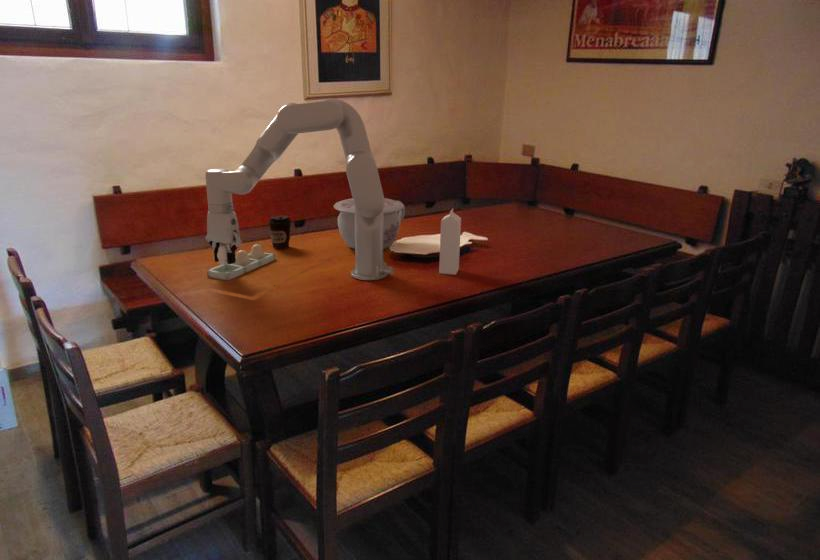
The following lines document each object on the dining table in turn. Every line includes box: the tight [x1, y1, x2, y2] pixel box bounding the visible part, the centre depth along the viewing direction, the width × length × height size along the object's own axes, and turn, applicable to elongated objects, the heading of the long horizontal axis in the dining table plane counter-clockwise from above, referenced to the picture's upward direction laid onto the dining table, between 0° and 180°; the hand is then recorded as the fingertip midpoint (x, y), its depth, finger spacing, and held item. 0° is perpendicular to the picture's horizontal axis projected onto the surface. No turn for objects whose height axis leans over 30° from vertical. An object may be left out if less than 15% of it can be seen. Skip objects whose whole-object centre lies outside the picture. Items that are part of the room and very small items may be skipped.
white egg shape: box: [217, 244, 228, 265], centre depth 194 cm, size 5×5×6 cm
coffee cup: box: [268, 214, 292, 251], centre depth 225 cm, size 9×8×13 cm
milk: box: [438, 208, 462, 276], centre depth 202 cm, size 6×6×22 cm
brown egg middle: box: [235, 249, 250, 266], centre depth 202 cm, size 5×5×6 cm
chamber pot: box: [333, 197, 406, 250], centre depth 230 cm, size 28×28×21 cm
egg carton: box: [206, 251, 276, 281], centre depth 205 cm, size 25×17×3 cm
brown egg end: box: [249, 243, 265, 260], centre depth 209 cm, size 5×5×6 cm
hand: (225, 261), depth 195 cm, fingers closed on white egg shape, 4 cm apart
